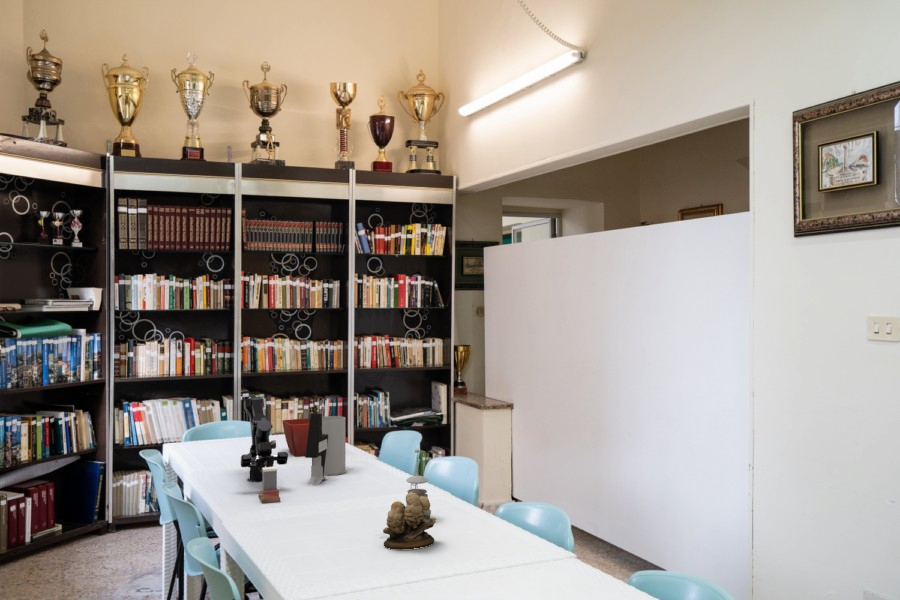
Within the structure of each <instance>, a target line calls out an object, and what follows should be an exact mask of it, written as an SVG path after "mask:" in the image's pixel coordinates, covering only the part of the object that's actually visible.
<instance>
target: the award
mask: <svg viewBox="0 0 900 600" xmlns="http://www.w3.org/2000/svg"><path fill="white" fill-rule="evenodd" d="M309 414H310V416H309V418H310V422H309V428H310V429H309V430H308V439H307V447H306V455H305V456H304V457H305V458H307V459H311V465H310V477H309V479H308V482H307V485H310V484H314V485H313V486H317V485H320V484H321V483H322V482H323V480H325V481H326V480H328V479H327V477H326V475H325V466H326V465H325V459H326V451H327V442H328V434H322V417H323V414H322V413H315V412H314V413H312V412H311V413H309Z"/></svg>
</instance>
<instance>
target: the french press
mask: <svg viewBox="0 0 900 600" xmlns="http://www.w3.org/2000/svg"><path fill="white" fill-rule="evenodd" d="M414 453H415V454H416V475H412V476H409V477H407V478H406V479H405V481H406V483H409V484H410V487H412V486H414V488H410V489H408V490H407V494H408V493H410V492H412V493H416V494H417V495H418V496H419V497H421V496H424V497H427V498H428V499H429V497H428V494H427V492H428V490H427V489H424V488H417V486H418V485H421V484H426V483H428V482H429V479H428V478H427V477H425V476H423V475H419V473H418V471H419V470H418V466H419V465H418V464H419V463H418V456H419V455H418V454H419V453H421V451H420V449H418V448H416V449H415V450H414ZM405 506H407V503H406V505H405Z"/></svg>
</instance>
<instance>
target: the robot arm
mask: <svg viewBox="0 0 900 600" xmlns="http://www.w3.org/2000/svg"><path fill="white" fill-rule="evenodd" d="M243 408H244V410H245V414H246V416H247V417H248V418H249V419H250V422H249V423H250V434H251V445H250V448H249V453H247V454H242V455H241V457H240V467H241V468H249V478H247V481H250V482H256V483H258V482H263V470H262V468H264V467H274V463H275V461H276V464H277V465H281V466H282V465H286V464H287V463H288V459H289V455H288V452H287V451H277V454H276V455H272V454H273V450H274V449H277V441H276V440H275V439H273V440H270V436H271V430H272V429H273V424H272V422H271V421H270V420H269V418H268V416H267V415H265V413H264V408H265V399H264V398H262V397H261V396H251V397H249V398H246V399H245V400H244V401H243Z"/></svg>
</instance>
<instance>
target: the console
mask: <svg viewBox="0 0 900 600" xmlns="http://www.w3.org/2000/svg"><path fill="white" fill-rule="evenodd" d="M258 498H259V501H260V503H261V504H271V503H273V504H274V503H281V496H280V490H279V489H277V490H269V491H263V490H262V492H258Z"/></svg>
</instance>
